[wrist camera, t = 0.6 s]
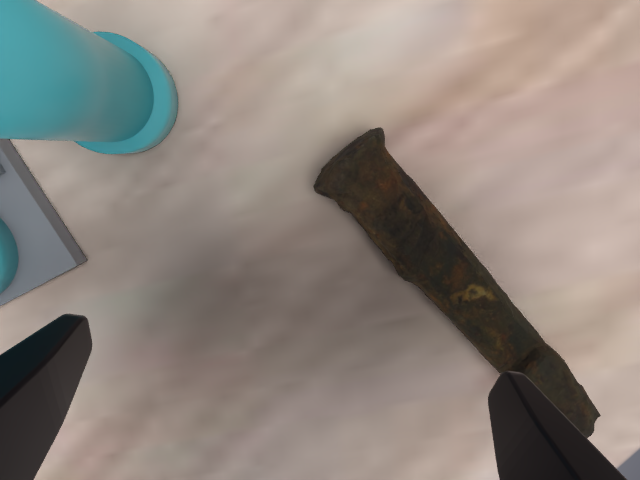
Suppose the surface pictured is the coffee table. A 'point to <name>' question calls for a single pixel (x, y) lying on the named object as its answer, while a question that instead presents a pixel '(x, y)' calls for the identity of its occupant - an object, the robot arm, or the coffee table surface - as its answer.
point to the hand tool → (447, 270)
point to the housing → (29, 231)
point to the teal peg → (79, 84)
